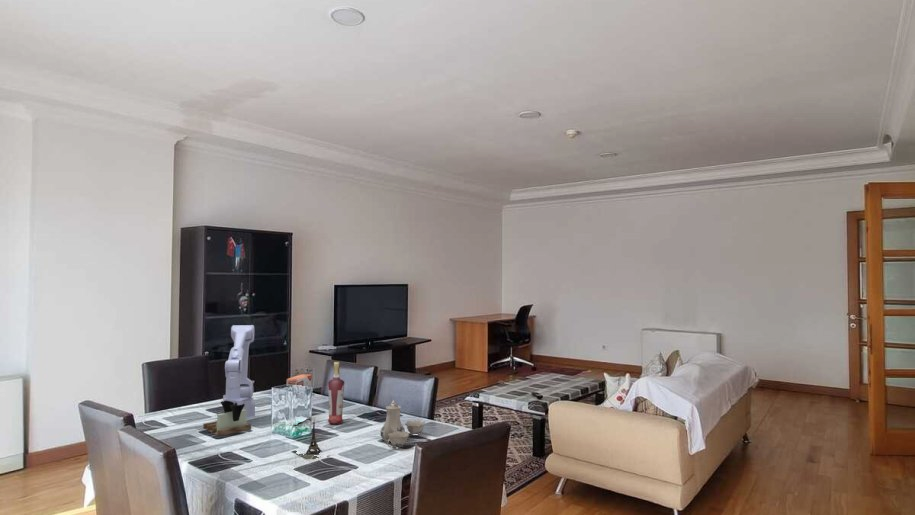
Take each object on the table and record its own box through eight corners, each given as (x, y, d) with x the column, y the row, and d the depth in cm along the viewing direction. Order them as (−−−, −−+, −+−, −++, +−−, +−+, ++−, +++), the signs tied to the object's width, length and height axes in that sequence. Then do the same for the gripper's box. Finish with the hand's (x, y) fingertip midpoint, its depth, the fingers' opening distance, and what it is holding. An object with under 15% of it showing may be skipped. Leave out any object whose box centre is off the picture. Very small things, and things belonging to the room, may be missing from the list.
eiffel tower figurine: (289, 452, 204) (290, 417, 205) (313, 447, 212) (314, 413, 212) (310, 462, 194) (311, 425, 194) (334, 456, 201) (334, 420, 202)
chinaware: (406, 456, 205) (411, 413, 206) (366, 448, 209) (371, 406, 209) (426, 436, 233) (430, 398, 233) (390, 429, 236) (395, 392, 237)
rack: (234, 423, 242) (235, 417, 242) (250, 430, 231) (251, 424, 231) (203, 429, 232) (203, 423, 232) (218, 437, 221) (218, 430, 221)
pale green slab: (244, 427, 233) (244, 409, 234) (246, 428, 232) (247, 410, 232) (216, 433, 225) (217, 414, 225) (218, 434, 223) (219, 414, 224)
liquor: (341, 425, 241) (342, 363, 242) (325, 425, 241) (326, 363, 243) (345, 421, 249) (346, 361, 250) (329, 420, 249) (331, 360, 250)
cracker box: (296, 426, 239) (297, 379, 240) (284, 425, 240) (285, 378, 241) (311, 418, 253) (312, 374, 254) (299, 417, 254) (300, 373, 255)
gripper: (216, 386, 231) (215, 417, 231) (231, 391, 221) (230, 424, 221) (232, 383, 236) (231, 414, 236) (247, 388, 226) (246, 421, 226)
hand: (232, 419), depth 229 cm, fingers open, 7 cm apart
